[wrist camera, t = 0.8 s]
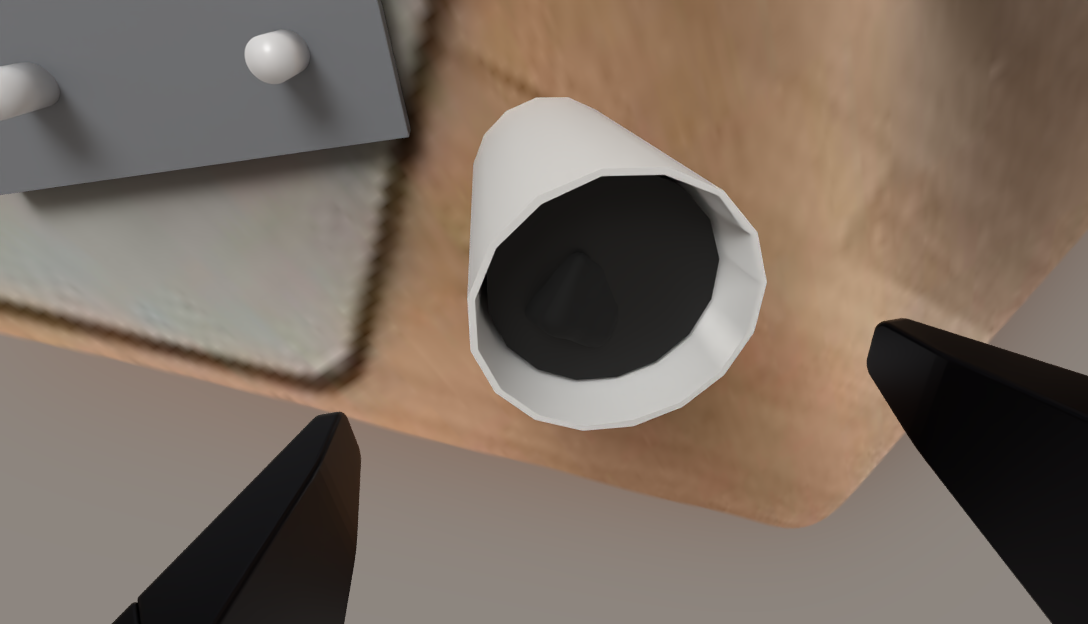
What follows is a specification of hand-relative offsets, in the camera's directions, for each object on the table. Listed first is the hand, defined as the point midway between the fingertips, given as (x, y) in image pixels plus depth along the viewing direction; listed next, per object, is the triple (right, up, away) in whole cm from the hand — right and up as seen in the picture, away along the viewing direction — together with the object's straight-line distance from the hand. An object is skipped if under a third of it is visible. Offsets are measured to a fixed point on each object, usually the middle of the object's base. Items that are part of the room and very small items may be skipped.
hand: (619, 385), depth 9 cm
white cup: (-1, +6, +11) cm, 13 cm away
